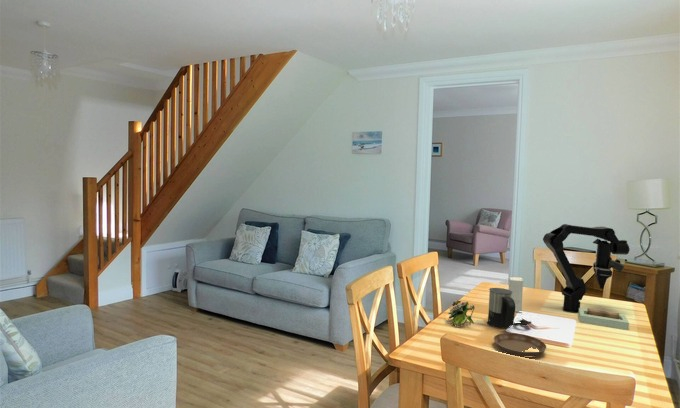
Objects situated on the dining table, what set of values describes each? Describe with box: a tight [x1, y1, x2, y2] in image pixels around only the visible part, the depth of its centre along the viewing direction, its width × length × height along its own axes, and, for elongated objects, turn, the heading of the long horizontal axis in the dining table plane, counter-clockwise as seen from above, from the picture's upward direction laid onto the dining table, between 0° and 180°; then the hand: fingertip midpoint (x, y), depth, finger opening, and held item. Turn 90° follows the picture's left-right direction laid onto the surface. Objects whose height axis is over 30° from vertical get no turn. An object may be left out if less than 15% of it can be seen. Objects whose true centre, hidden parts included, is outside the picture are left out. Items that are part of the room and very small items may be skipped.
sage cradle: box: [577, 307, 630, 331], centre depth 197 cm, size 18×12×3 cm, turn 65°
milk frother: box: [486, 287, 532, 329], centre depth 186 cm, size 14×16×15 cm
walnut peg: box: [586, 308, 620, 319], centre depth 197 cm, size 12×4×4 cm, turn 63°
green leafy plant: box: [448, 300, 475, 327], centre depth 186 cm, size 11×11×12 cm
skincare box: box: [508, 276, 524, 313], centre depth 209 cm, size 8×6×15 cm
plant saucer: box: [493, 332, 547, 358], centre depth 162 cm, size 18×18×3 cm
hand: (600, 286), depth 211 cm, fingers open, 9 cm apart
